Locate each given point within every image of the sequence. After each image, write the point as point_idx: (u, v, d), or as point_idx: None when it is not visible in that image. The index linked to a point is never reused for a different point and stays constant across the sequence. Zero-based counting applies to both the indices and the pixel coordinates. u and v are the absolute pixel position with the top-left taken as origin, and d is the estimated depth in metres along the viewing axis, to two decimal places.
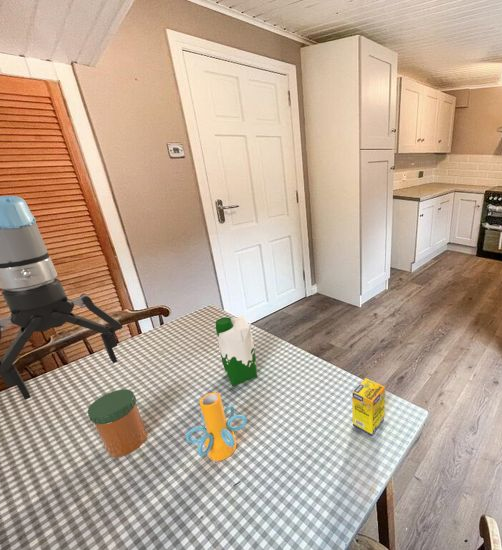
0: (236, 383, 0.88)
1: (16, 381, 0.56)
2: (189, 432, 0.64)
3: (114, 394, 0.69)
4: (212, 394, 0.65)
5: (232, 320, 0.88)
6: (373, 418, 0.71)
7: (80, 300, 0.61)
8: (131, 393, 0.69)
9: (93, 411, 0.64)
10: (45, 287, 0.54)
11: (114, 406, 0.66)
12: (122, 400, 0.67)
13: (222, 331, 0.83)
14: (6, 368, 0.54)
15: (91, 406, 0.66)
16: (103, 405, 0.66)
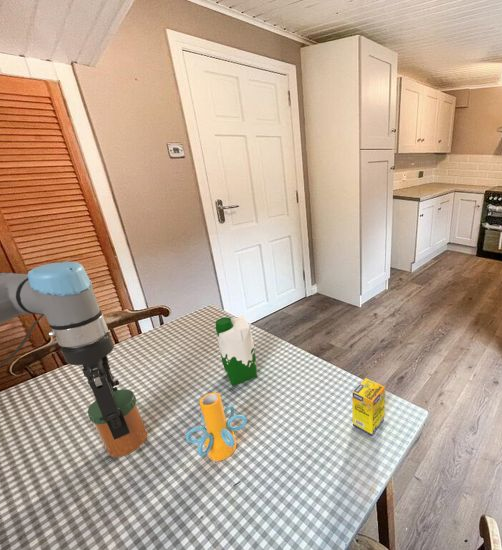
0: (236, 383, 0.88)
1: None
2: (189, 432, 0.64)
3: (114, 394, 0.69)
4: (212, 394, 0.65)
5: (232, 320, 0.88)
6: (373, 418, 0.71)
7: None
8: (131, 393, 0.69)
9: (93, 411, 0.64)
10: (63, 349, 0.58)
11: None
12: (122, 400, 0.67)
13: (222, 331, 0.83)
14: None
15: (91, 406, 0.66)
16: None
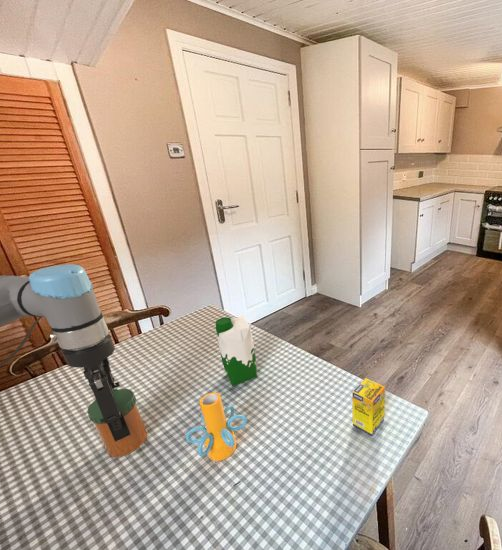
0: (236, 383, 0.88)
1: None
2: (189, 432, 0.64)
3: (95, 408, 0.65)
4: (212, 394, 0.65)
5: (232, 320, 0.88)
6: (373, 418, 0.71)
7: None
8: None
9: (121, 405, 0.66)
10: (64, 352, 0.58)
11: (120, 395, 0.68)
12: None
13: (222, 331, 0.83)
14: None
15: None
16: None
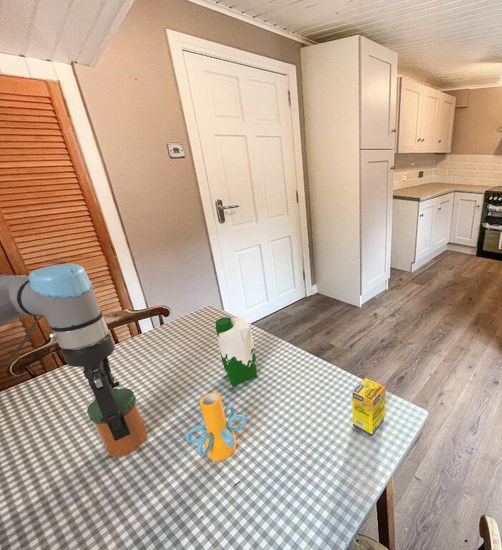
0: (236, 383, 0.88)
1: None
2: (189, 432, 0.64)
3: None
4: (212, 394, 0.65)
5: (232, 320, 0.88)
6: (373, 418, 0.71)
7: None
8: (94, 414, 0.63)
9: (121, 391, 0.69)
10: (64, 351, 0.58)
11: None
12: (98, 407, 0.65)
13: (222, 331, 0.83)
14: None
15: (129, 391, 0.69)
16: (116, 396, 0.68)
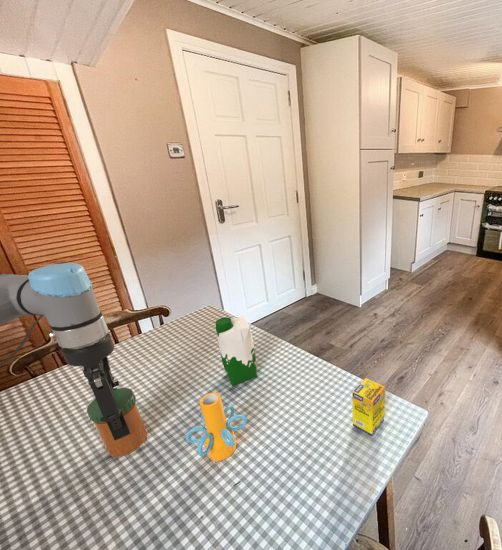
0: (236, 383, 0.88)
1: None
2: (189, 432, 0.64)
3: (121, 392, 0.69)
4: (212, 394, 0.65)
5: (232, 320, 0.88)
6: (373, 418, 0.71)
7: (94, 378, 0.59)
8: (129, 398, 0.67)
9: (93, 404, 0.66)
10: (63, 351, 0.58)
11: None
12: None
13: (222, 331, 0.83)
14: None
15: None
16: None
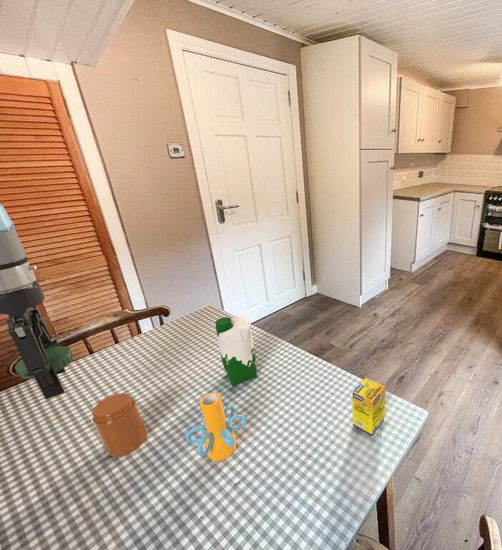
0: (236, 383, 0.88)
1: (56, 375, 0.61)
2: (189, 432, 0.64)
3: None
4: (212, 394, 0.65)
5: (232, 320, 0.88)
6: (373, 418, 0.71)
7: None
8: None
9: (62, 354, 0.63)
10: (35, 282, 0.59)
11: (49, 352, 0.64)
12: None
13: (222, 331, 0.83)
14: (49, 364, 0.59)
15: (55, 361, 0.61)
16: (51, 357, 0.62)
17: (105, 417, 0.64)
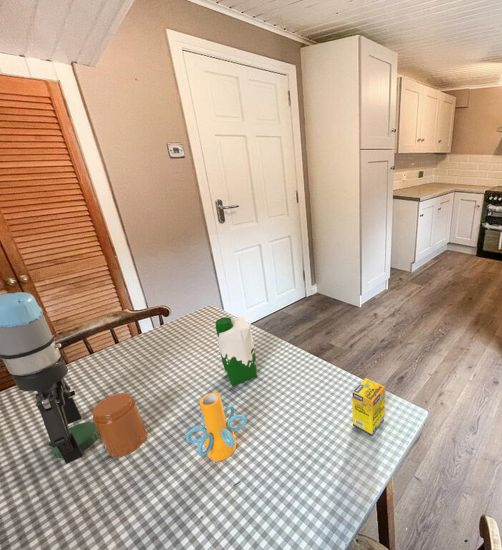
0: (236, 383, 0.88)
1: (75, 441, 0.65)
2: (189, 432, 0.64)
3: None
4: (212, 394, 0.65)
5: (232, 320, 0.88)
6: (373, 418, 0.71)
7: None
8: None
9: (90, 432, 0.71)
10: None
11: (78, 429, 0.72)
12: None
13: (222, 331, 0.83)
14: (69, 432, 0.64)
15: (84, 440, 0.69)
16: (80, 435, 0.71)
17: (105, 417, 0.64)
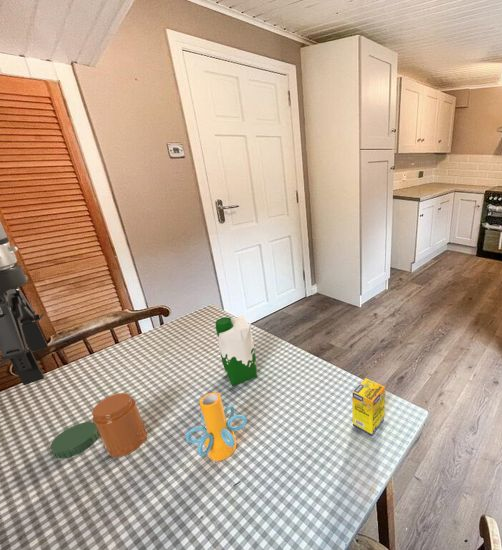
0: (236, 383, 0.88)
1: (35, 360, 0.57)
2: (189, 432, 0.64)
3: (61, 445, 0.68)
4: (212, 394, 0.65)
5: (232, 320, 0.88)
6: (373, 418, 0.71)
7: None
8: (56, 438, 0.70)
9: (90, 432, 0.71)
10: (17, 264, 0.58)
11: (78, 429, 0.72)
12: (68, 433, 0.71)
13: (222, 331, 0.83)
14: (26, 347, 0.56)
15: (84, 440, 0.69)
16: (80, 435, 0.71)
17: (105, 417, 0.64)
